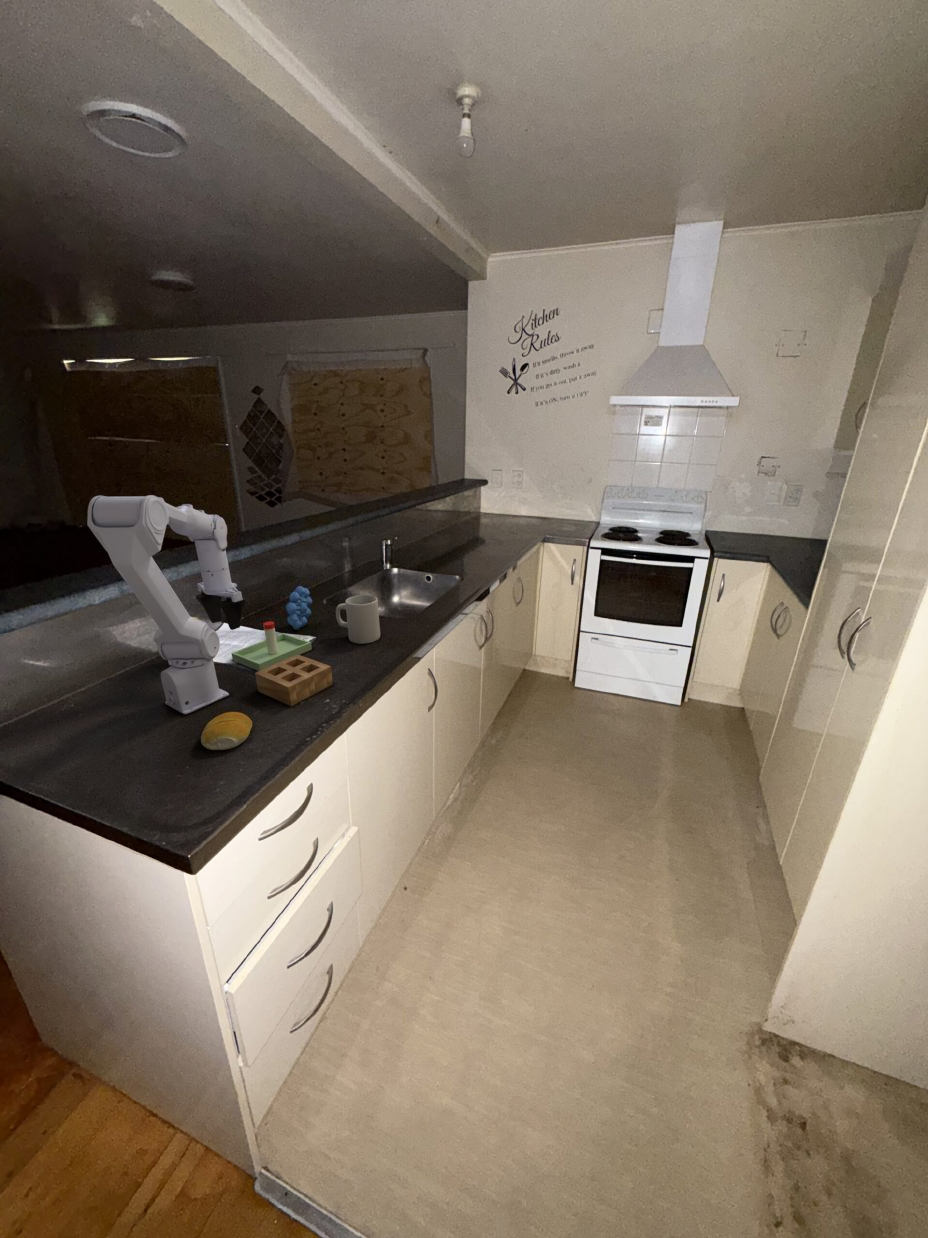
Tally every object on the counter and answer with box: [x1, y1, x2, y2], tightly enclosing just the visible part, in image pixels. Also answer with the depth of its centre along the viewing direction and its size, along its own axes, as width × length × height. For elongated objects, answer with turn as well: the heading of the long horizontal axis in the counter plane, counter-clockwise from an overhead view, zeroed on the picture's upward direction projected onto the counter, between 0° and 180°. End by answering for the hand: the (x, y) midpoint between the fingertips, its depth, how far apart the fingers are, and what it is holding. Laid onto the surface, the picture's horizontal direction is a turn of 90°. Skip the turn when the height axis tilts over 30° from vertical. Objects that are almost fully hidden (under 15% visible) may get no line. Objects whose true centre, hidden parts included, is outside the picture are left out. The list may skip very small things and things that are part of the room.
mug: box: [335, 594, 381, 645], centre depth 131 cm, size 12×8×11 cm
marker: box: [262, 621, 278, 655], centre depth 121 cm, size 2×2×8 cm
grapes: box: [285, 585, 313, 631], centre depth 138 cm, size 12×7×12 cm, turn 168°
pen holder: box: [254, 654, 334, 707], centre depth 106 cm, size 11×11×4 cm
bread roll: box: [200, 711, 253, 751], centre depth 89 cm, size 8×9×4 cm
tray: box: [231, 632, 313, 672], centre depth 122 cm, size 15×11×2 cm
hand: (225, 625), depth 113 cm, fingers open, 7 cm apart
